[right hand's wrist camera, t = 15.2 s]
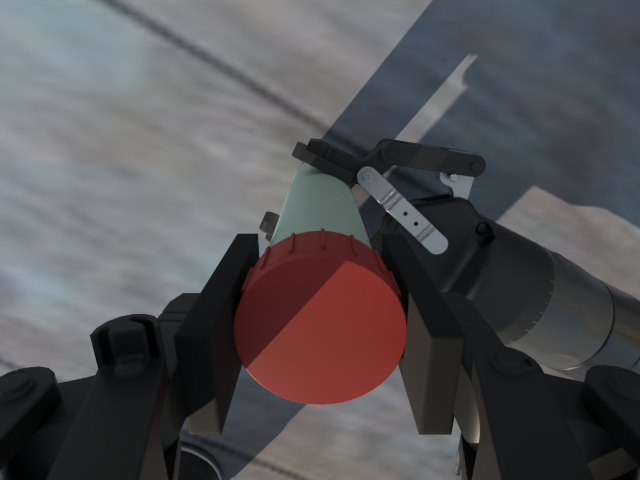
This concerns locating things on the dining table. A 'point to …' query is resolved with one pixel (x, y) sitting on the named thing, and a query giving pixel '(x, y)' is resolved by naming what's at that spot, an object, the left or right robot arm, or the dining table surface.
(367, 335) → the lid
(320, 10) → the dining table surface
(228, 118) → the dining table surface
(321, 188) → the bottle
